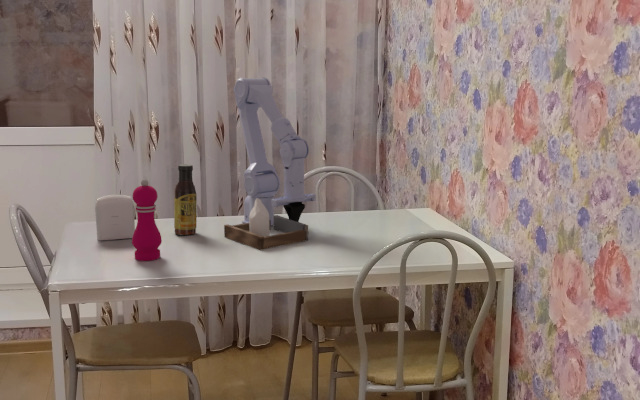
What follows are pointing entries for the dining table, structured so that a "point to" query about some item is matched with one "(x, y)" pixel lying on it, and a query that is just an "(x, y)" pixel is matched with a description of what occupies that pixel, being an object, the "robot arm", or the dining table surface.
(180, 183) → the sauce bottle
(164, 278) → the dining table surface
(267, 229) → the beige pointed upright block
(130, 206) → the photo printer
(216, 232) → the dining table surface
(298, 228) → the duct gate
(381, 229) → the dining table surface
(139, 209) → the pepper mill
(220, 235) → the dining table surface
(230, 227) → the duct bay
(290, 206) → the robot arm
